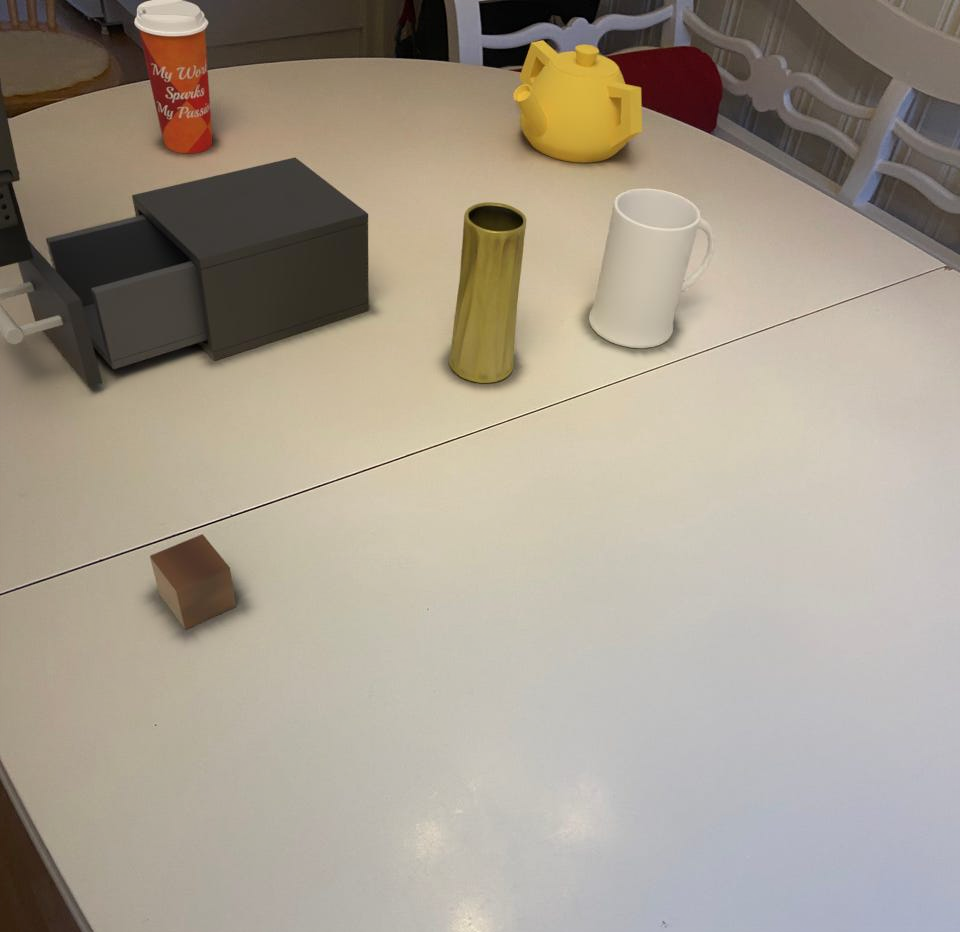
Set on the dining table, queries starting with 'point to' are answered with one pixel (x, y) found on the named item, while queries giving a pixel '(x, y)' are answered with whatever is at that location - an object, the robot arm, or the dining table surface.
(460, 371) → the vase
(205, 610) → the block
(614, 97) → the teapot
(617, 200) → the mug
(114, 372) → the dining table surface
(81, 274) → the drawer
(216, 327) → the dark grey storage box
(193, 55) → the paper cup
